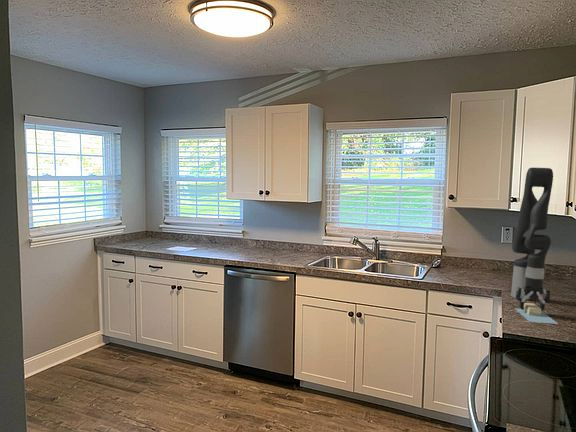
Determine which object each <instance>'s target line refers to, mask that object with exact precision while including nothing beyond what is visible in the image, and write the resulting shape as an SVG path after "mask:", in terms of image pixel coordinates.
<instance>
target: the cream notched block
mask: <svg viewBox="0 0 576 432" xmlns="http://www.w3.org/2000/svg"><path fill="white" fill-rule="evenodd" d="M524 311H525V312H526V313H527V314H529V315H536V316H541V309H540V306H539V305H536V303H530V302H524Z"/></svg>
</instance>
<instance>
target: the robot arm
mask: <svg viewBox="0 0 576 432" xmlns="http://www.w3.org/2000/svg"><path fill="white" fill-rule="evenodd" d="M553 181H554V172H553V169H552V168H551V167H530V168H528V169H527V171H526V174H525V181H524V189H523V196H522V200H521V205H520V208H519V214H518V220H517V226H516V229H515V232H514V236H513V240H512V244H511V248H512V251H513V253H516V254H525V256H524V257H520V258H516V259H514V261H513V268H512V269H513V270H512V271H513V272H512V281H511V282H512V283H511V293H510V296H511V297H512V298H514V299H515V300H517V301H519V309H522V310H524V303H525V301H527V300H531V299H532V298H533V299H538V301H540V302H539V308H540V309H541V311H542V312H544V311H545V307H546V304H548V303H550V301H551V291H550V289H548V288H546V289H544V282H545V281H544V279H545V262H546V256H547V254H548V252H549V249H550V247H551V245H552V240H551V237H550V236H549V235H546V234H536V233H535V232H538V231H545V230H546V229H547V227H548V216H549V214H548V213H549V205H550V199H551V194H552V188H553V183H554V182H553ZM535 187H536V188H543V192H542V194H541V195H540V197H539V199H537V198H536V195H535V194H534V192H533V188H535ZM526 233H527V234H526ZM525 234H526V236H525ZM536 250H539V252H538V253H536ZM542 294H544V297H543V296H542Z"/></svg>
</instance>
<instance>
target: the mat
mask: <svg viewBox="0 0 576 432" xmlns="http://www.w3.org/2000/svg"><path fill="white" fill-rule="evenodd" d="M514 310H516V312H517V313H519V314H520V315H521V316H522V317H523V318H525V319H526V321H528V323H529V322H530V323H541V324H543V323H544V324H553V325H559V323H558V322H557V321H555V320H554V319H553V318H552V317H550V316H549V315H548V314H546V313H545V312H544V311H541V316H536V315H529V314H527V313H526V312H525V311H524V310H522V309H521V308H515V307H514Z"/></svg>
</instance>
